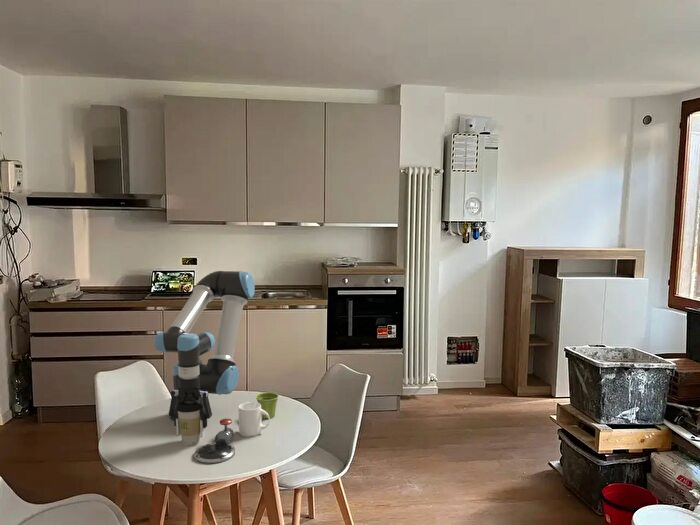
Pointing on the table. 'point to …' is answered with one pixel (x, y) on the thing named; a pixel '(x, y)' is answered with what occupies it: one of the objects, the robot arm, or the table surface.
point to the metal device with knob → (217, 447)
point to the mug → (251, 419)
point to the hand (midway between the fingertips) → (190, 435)
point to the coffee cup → (189, 421)
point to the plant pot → (268, 403)
